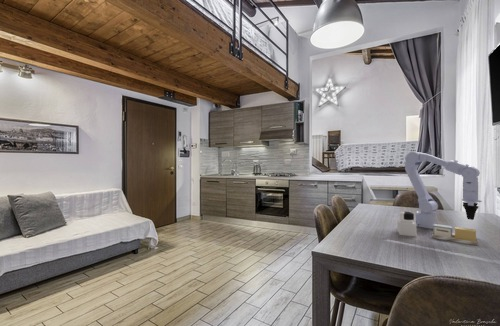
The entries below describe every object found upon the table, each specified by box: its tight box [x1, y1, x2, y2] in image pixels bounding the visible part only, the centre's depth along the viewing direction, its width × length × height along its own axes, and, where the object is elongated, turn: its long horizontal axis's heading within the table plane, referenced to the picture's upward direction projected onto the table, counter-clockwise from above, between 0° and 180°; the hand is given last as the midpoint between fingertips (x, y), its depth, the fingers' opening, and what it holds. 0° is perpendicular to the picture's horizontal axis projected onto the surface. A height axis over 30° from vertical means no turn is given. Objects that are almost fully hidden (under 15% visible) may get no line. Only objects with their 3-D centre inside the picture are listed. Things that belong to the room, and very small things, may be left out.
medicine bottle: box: [396, 211, 417, 237], centre depth 118 cm, size 7×7×12 cm
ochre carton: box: [454, 226, 477, 242], centre depth 107 cm, size 7×4×6 cm, turn 47°
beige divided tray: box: [431, 231, 479, 246], centre depth 114 cm, size 16×18×2 cm
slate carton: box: [432, 224, 453, 238], centre depth 113 cm, size 7×4×6 cm, turn 48°
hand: (470, 218), depth 116 cm, fingers open, 7 cm apart
